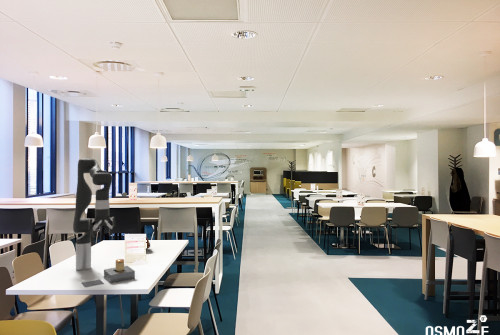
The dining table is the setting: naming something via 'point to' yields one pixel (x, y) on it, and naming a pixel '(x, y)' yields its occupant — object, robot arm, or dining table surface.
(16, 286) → the dining table surface
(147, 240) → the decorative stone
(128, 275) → the housing
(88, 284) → the mat
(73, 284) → the dining table surface
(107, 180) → the robot arm
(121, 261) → the brass cylinder
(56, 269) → the dining table surface
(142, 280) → the dining table surface
